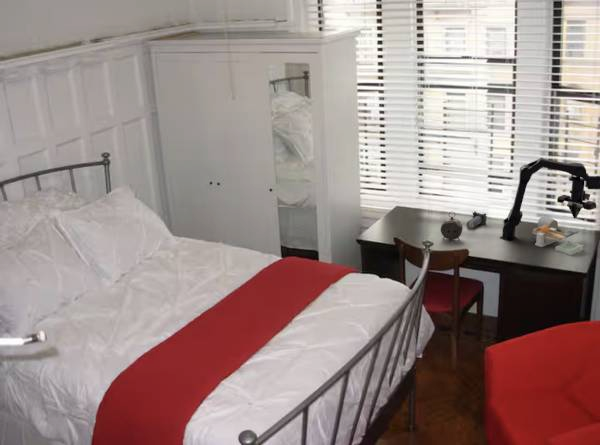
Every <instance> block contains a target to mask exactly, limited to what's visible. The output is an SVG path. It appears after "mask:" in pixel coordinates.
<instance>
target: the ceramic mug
mask: <svg viewBox="0 0 600 445" xmlns="http://www.w3.org/2000/svg"><path fill="white" fill-rule="evenodd" d="M543 225H547V226H548V227H549V228H554V229H556V230H558V229H559V223H558V220H555V219H554V218H551V217H549V216H546V215H541V217H539V219H538V221H537V228H538V227H542V226H543Z"/></svg>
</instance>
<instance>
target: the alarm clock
mask: <svg viewBox="0 0 600 445" xmlns="http://www.w3.org/2000/svg"><path fill="white" fill-rule="evenodd" d="M451 213H452V214H454V216H450V214H451ZM448 216H449V218H445V219H444V220H443V221H442V224H441V225H440V232H441V236H443V238H442V240H444V239H447V240H449V242H450V241H451V242H452V241H453V240H458V241H461V239H460V236H462V233H463V230H464V229H463V224H462V222H461V221H460V220H459V219H457V218H456V217H455V216H456V213H455V211H449V213H448Z"/></svg>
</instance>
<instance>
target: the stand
mask: <svg viewBox="0 0 600 445" xmlns="http://www.w3.org/2000/svg"><path fill="white" fill-rule="evenodd" d="M549 229H551V230H555V231H557V229H554V228H549ZM535 241H536V242H535V243H534V246H537V247H541V248H543V247H546V246H548V245H550V244H552V243H555V242H556V241H555V240H552V239H549V238H544V234H543V233H537V238H536V240H535Z"/></svg>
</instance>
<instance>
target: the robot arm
mask: <svg viewBox="0 0 600 445" xmlns="http://www.w3.org/2000/svg"><path fill="white" fill-rule="evenodd" d="M542 168H544V169H551V170H554V171H559V172H564V173H568V174H569V175H571V176H569V177H568V181H570V182H571V190H569V194H570V195H569V194H568V195H566V194H562V195H559V196H558V197H557V199H556V202H557V203H560V204H564V202H567V204H566V206H567V207H568V208H569V210H570V213H571V215H572V217H573V219H577V218H578V216H579V213H580V212H581V210H582V209H584V210H587V211H591V210H594V209H596V208H597V203H596V202H595V201H591V200H590V197H591V194H590V193H586V190H585V188H587V190H600V175H589V174H588V173H587V169H586V166H585V165H584V164H583V163H582V162H572V163H570V162H569V163H567V162H563V161H557V160H552V159H546V158H543V157H539V158H537V159H536V160H534V161H531V162H529V163H527V164H523V165H521V166H520V167H519V175H518V176H519V177H518V178H519V180H518V186H517V189H516V193H515V197H514V199H513V200H514V202H513V205H512V207H511V209H510V211H509V213H508V215H507V217H506V218H505V219H504V220H503V222H502V223H503V227H502V236H500V237H499V238H500V239H502V240H505V241H508V242H511V241H513V240H516V239H518V237H517V236H516V227H517V226H518V225H519V224H520V223H522V217H523V216H524V215H523V211H522V210H521V208H522V206H523V205H522V204H523V200H524V196H525V193H526V190H527V189H526V188H527V186H528V184H529V182H530V180H531V178H532V176H533V175H534V174H536V173H537V172H538V171H540V170H541V169H542Z"/></svg>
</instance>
